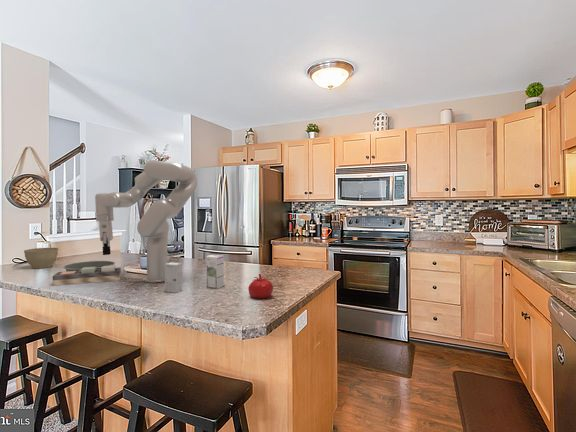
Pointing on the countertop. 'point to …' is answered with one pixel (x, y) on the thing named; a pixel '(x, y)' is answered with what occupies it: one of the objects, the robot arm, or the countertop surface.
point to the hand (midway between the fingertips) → (106, 254)
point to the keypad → (86, 277)
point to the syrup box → (215, 271)
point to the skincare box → (173, 277)
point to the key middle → (88, 269)
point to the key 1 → (68, 273)
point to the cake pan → (88, 265)
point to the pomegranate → (260, 288)
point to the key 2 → (108, 268)
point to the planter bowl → (41, 257)
